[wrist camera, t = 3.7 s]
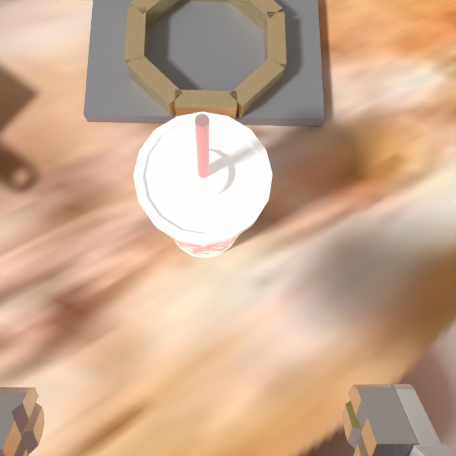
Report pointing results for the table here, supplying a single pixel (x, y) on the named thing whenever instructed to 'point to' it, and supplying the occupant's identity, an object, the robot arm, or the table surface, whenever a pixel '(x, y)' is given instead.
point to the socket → (206, 99)
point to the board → (205, 61)
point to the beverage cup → (203, 181)
